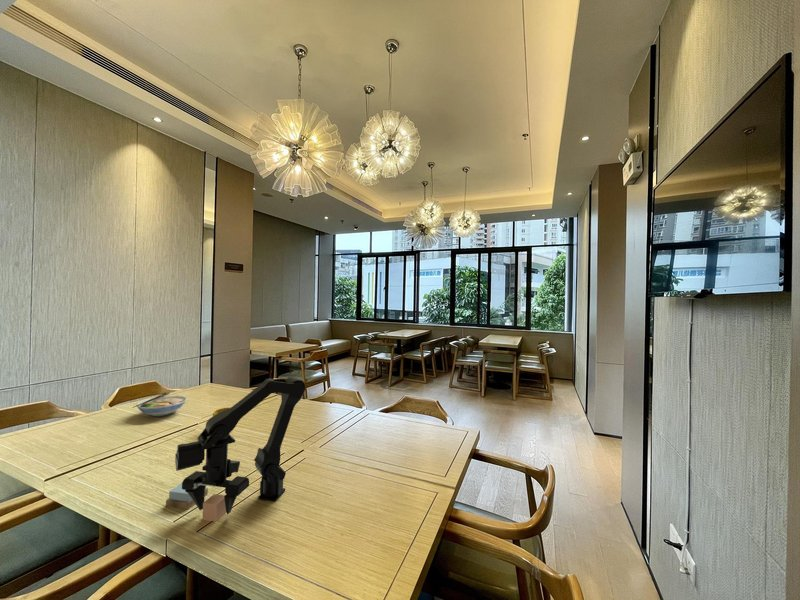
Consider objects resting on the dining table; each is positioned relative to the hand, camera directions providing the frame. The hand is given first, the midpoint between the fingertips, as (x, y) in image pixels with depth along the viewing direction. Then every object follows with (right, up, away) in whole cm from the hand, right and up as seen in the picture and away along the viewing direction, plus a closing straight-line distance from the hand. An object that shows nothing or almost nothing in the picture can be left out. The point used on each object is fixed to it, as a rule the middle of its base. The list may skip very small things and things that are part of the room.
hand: (215, 511), depth 97 cm
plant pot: (-32, -1, +63) cm, 70 cm away
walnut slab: (-13, -2, +7) cm, 15 cm away
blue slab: (-13, +1, +7) cm, 15 cm away
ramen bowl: (-77, 0, +82) cm, 113 cm away
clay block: (0, -1, 0) cm, 1 cm away
